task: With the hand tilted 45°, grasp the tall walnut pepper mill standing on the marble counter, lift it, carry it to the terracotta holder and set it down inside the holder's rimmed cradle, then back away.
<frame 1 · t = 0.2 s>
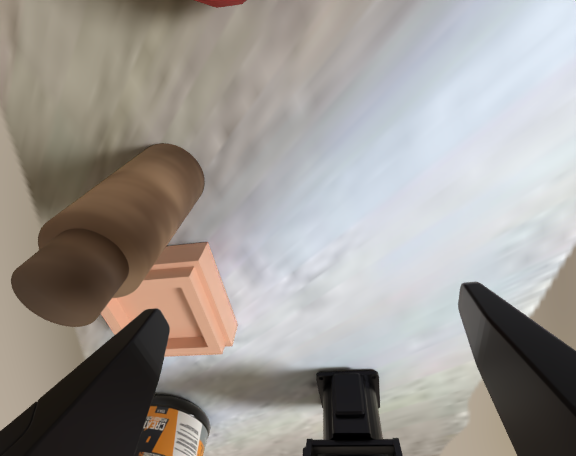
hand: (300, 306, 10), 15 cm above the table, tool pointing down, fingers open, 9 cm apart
supplement container: (173, 412, 43), on the table
pepper mill: (171, 176, 24), on the table
mill holder: (173, 291, 30), on the table
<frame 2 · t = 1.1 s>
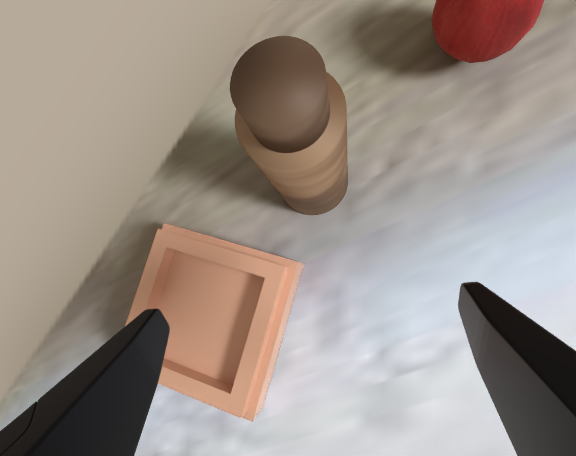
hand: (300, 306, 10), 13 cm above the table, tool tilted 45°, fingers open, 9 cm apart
pepper mill: (313, 181, 24), on the table
onion: (463, 52, 24), on the table
mill holder: (219, 311, 24), on the table
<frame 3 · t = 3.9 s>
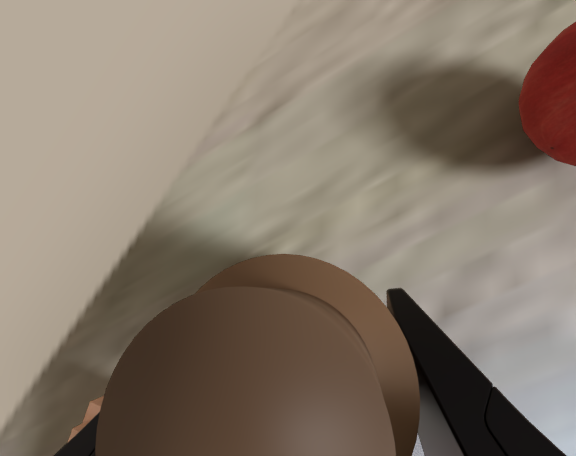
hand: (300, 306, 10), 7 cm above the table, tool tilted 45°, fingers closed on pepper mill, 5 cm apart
pepper mill: (324, 329, 16), on the table, touching gripper
onion: (554, 137, 16), on the table
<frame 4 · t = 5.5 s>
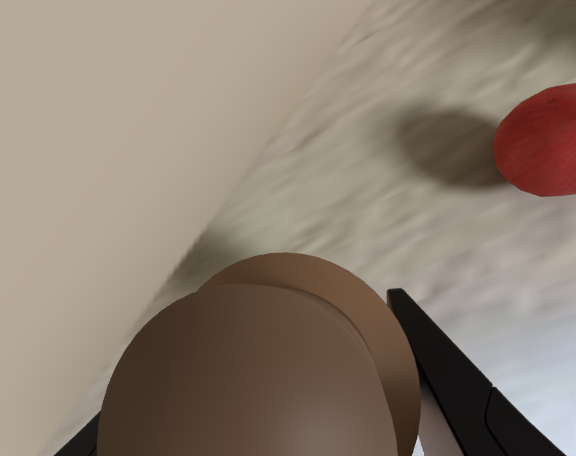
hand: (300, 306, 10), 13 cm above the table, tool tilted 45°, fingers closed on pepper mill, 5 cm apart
pepper mill: (324, 328, 16), point 6 cm above the table, touching gripper
onion: (520, 168, 22), on the table
when the fingers open (10 cm above the table, at t = 7.3 s): pepper mill stays where it is, resting on mill holder.
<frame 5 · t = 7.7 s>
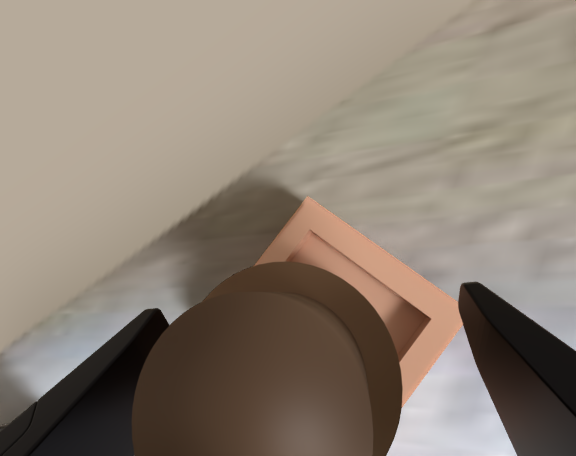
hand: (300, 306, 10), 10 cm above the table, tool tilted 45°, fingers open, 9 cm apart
pepper mill: (323, 328, 17), point 3 cm above the table, touching mill holder
mill holder: (328, 322, 19), on the table
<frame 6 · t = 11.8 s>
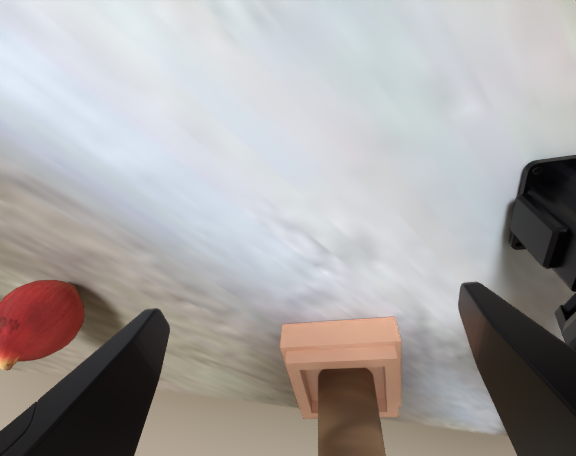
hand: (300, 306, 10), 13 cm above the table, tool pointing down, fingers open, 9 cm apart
pepper mill: (345, 379, 30), point 3 cm above the table, touching mill holder
onion: (71, 284, 29), on the table
mill holder: (342, 354, 32), on the table
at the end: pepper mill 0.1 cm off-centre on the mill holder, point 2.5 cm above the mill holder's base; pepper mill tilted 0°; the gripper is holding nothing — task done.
